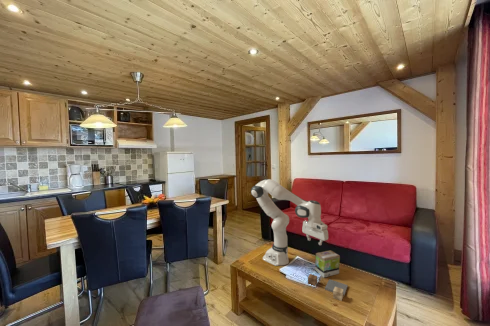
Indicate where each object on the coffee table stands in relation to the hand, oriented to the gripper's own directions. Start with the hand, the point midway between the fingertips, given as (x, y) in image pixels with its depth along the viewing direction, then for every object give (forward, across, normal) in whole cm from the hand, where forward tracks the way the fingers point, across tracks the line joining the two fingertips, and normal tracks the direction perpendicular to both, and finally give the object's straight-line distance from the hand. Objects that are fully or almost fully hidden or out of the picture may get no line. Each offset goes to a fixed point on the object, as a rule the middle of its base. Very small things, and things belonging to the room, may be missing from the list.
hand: (314, 242), depth 152 cm
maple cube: (+28, +20, -2) cm, 35 cm away
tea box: (+28, -1, +16) cm, 33 cm away
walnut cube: (+28, +1, -4) cm, 28 cm away
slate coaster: (+28, +14, +5) cm, 32 cm away
